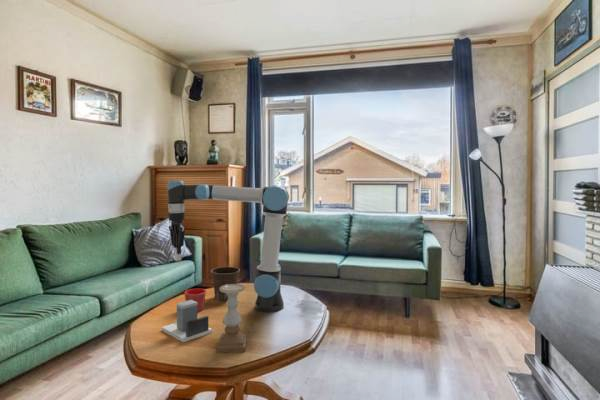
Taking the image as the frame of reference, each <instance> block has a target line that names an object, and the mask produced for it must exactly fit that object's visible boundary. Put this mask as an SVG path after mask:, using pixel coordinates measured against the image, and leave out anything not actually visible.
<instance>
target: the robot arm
mask: <svg viewBox="0 0 600 400" xmlns="http://www.w3.org/2000/svg"><path fill="white" fill-rule="evenodd" d="M184 183H185V182H184V181H183V180H170V181H168V182H167V205H168V206H167V208H168V221H170V223H171V225H170V226H169V225H168V229H169V234H170V242H171V246H173V248H174V261H176V262H178V261H182V247H184V244H185V232H186V229H187V227H185V226H183V225H184V223H183V221H185V220H186V217H185V216H186V214H185V211H186V209H185V201H188V200H189V201H203V200H204V201H205V200H216V201H230V202H241V203H243V202H245V203H258V204H261V205H262V213H263V214H264V216H265V217H264V227H263V235H262V236H263V237H262V247H261V254H260V255H261V257H260V264H258V265H257V266H256V271H255V273H256V274H255V279H254V282H253V288H254V291H255V293H256V294H257V297H256V300H255V302H254V303H255V304H254V308H255V310H257V311H260V312H278V311H281V310H283V309H284V308H285V307H284V306H285V305H284V304H285V303H284V299H283V296H282V292H281V287H282V285H281V284H282V282H281V278H282V277H281V275H282V273H281V271H282V268H281V265H280V264H279V258H280V247H281V240H282V239H281V238H282V229H283V219H284V217H285V216H286V215H287V211H288V201H289V198H290V196H289V192H288V190H287V189H286V188H285V187H284V186H281V185H278V184H276V185H271V186H262V187H248V186H247V187H245V186H233V185H232V186H228V185H217V184H216V185H215V184H213V185H212V184H204V183H201V184H199V183H198V184H197V183H196V184H184ZM280 309H281V310H280ZM277 310H278V311H277Z"/></svg>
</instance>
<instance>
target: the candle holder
mask: <svg viewBox="0 0 600 400" xmlns="http://www.w3.org/2000/svg"><path fill="white" fill-rule="evenodd" d="M219 290H220V291H221V292H223V293H226V295H227V296H228V300H226V302H225V305H226V307H227V311H226V313H225V314H224V316H223V320H222V323H223V325H224V326H225V327H224V332H225V333H222V334H221V336H220V337H219V340H218V343H217V346H216V353H217V354H218V353H220V354H221V353H226V354H227V353H245V352H246V349H247V343H248V339H247V337H248V336H247V335H245V333H244V332H240V331H241V327H240V324H241V323H242V316H241V315H240V312H238V309H237V308H238V306H239V304H240V302H239V300H238V298H237V297H238V296H239V294H240V293H241V292H244V291H245V290H246V286H245V285H243V284H240V283H237V284H227V285H223V286H221V287H220V288H219Z"/></svg>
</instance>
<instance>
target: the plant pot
mask: <svg viewBox="0 0 600 400" xmlns="http://www.w3.org/2000/svg"><path fill="white" fill-rule="evenodd" d="M240 271H241V270H240V268H238V267H235V266H222V267H221V266H220V267H216V268H213V269H211V270H210V273H211V278H212V283H213V293H214V299H215V300H217V301H220V302H221V301H222V302H224V301H227V300H228V296H227V295H226V293H223V292H221V291H220V290H219V288H220V287H221V286H223V285H227V284H239V283H238V282H239V281H238V280H239V275H240Z"/></svg>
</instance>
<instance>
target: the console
mask: <svg viewBox="0 0 600 400" xmlns="http://www.w3.org/2000/svg"><path fill="white" fill-rule="evenodd" d="M161 331H163V332H164V333H166V334H167V335H169V336H171V337H173V338H174V339H176V340H178V341H179V342H181V343H186V342H189V341H192V340H195V339H197V338H201V337H203V336H206V335H209V334H212V333H213V328H211V327H209V316H208V315H204V316H202V317H197V319H194V320H191V321H188V322H186V331H181V330H179V329H177V322H174V323H171V324H167V325H164V326H161Z"/></svg>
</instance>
